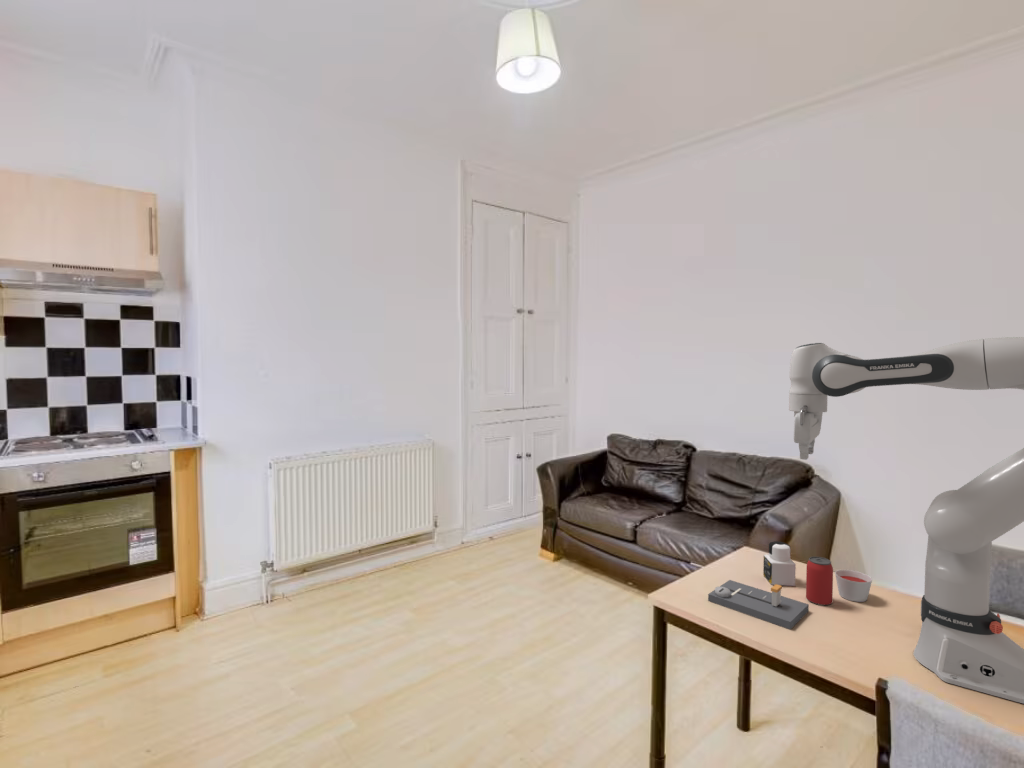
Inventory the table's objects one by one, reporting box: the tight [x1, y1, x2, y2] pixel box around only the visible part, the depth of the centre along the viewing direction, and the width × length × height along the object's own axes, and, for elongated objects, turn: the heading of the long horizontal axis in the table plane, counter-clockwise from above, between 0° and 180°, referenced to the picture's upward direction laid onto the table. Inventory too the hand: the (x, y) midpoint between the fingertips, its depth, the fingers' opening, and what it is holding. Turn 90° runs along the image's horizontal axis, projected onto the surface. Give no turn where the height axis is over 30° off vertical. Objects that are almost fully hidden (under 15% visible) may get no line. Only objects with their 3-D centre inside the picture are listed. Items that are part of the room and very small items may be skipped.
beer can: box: [805, 556, 834, 606], centre depth 148 cm, size 7×7×12 cm
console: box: [707, 579, 810, 630], centre depth 145 cm, size 22×14×4 cm, turn 43°
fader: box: [770, 584, 783, 607], centre depth 141 cm, size 2×4×5 cm, turn 133°
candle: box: [834, 569, 873, 603], centre depth 150 cm, size 9×9×6 cm
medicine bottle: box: [762, 541, 797, 587], centre depth 161 cm, size 7×7×12 cm
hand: (806, 456), depth 137 cm, fingers open, 8 cm apart
